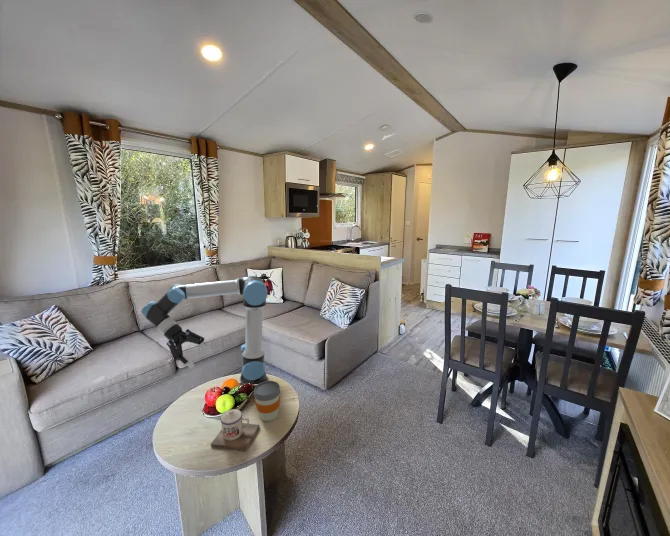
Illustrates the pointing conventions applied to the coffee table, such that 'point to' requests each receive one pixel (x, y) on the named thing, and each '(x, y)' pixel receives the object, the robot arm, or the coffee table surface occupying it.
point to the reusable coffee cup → (267, 399)
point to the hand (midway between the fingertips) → (201, 359)
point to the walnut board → (238, 443)
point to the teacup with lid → (232, 424)
